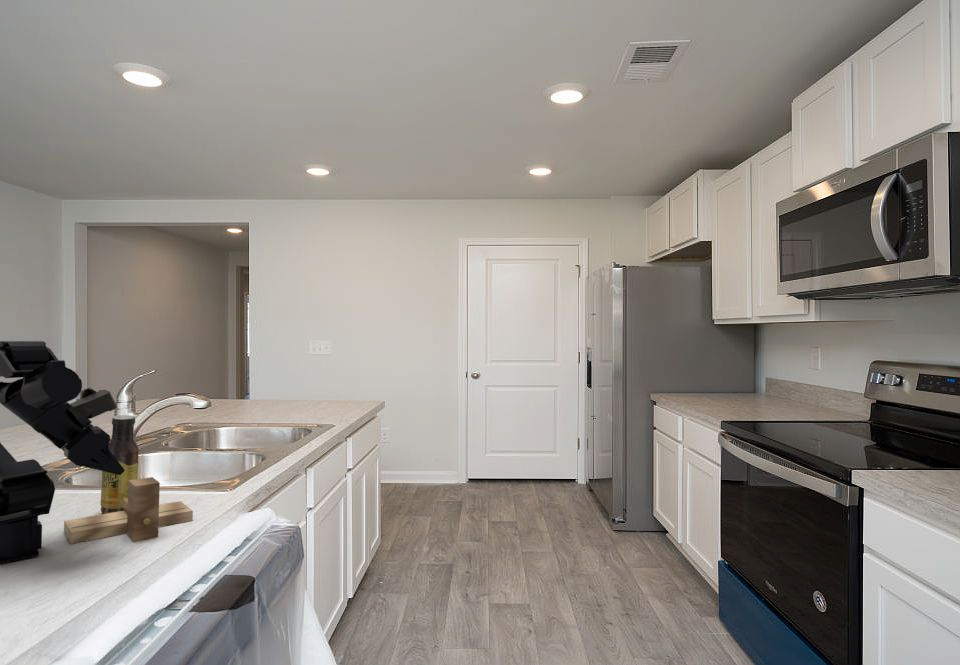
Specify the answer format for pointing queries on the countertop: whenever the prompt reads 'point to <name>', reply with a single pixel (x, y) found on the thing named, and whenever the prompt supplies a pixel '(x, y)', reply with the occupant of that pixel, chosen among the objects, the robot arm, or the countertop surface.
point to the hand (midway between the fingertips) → (115, 467)
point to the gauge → (142, 508)
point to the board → (120, 522)
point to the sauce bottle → (127, 456)
